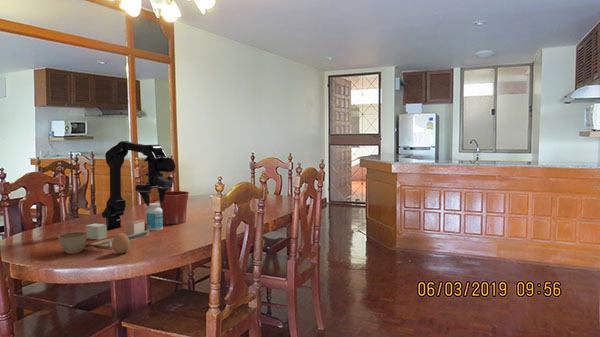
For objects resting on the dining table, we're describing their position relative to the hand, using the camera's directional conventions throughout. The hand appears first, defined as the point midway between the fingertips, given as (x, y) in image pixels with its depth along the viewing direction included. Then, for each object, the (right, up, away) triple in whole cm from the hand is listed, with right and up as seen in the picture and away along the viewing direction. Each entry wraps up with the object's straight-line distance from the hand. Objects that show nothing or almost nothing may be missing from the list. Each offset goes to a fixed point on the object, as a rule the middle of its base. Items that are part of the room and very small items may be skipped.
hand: (155, 204), depth 189 cm
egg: (-2, -17, -31) cm, 35 cm away
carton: (-6, -14, -8) cm, 17 cm away
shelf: (-10, -16, -13) cm, 23 cm away
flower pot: (0, -13, +28) cm, 30 cm away
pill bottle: (-3, -14, +7) cm, 16 cm away
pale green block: (-22, -15, -11) cm, 29 cm away
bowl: (-22, -17, -29) cm, 40 cm away
